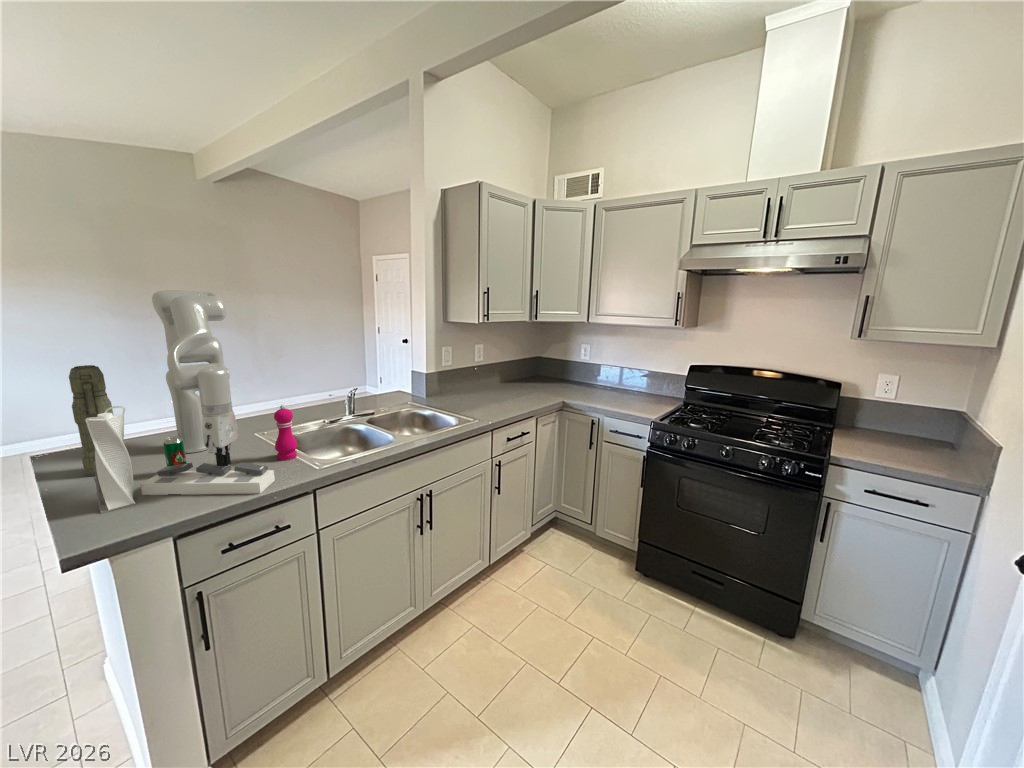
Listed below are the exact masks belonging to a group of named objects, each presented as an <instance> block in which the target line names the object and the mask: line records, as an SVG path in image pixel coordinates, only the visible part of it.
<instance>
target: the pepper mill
mask: <svg viewBox="0 0 1024 768" xmlns="http://www.w3.org/2000/svg"><path fill="white" fill-rule="evenodd" d="M273 415H274V416H273V418H274V420H275V422H276V424H275V425H276V428H277V429H278V434H277V438H276V439H275V440H276V441H275V443H274V449H275V450H276V452H277V454H276V455H277V459H278V460H279V461H290V460H293V459H295V458H297V457H298V456H297V455H298V454H297V453H298V452H297V450H296V449H297V448H298V441H297V439H296V438H295V437H294V435H293V431H292V426H293V421H292V420H293V419H294V413H293V412H292V410H291V409H289V408H287V407H286V405H285V404H280V406H279V409H277V410H276V411H274V414H273Z"/></svg>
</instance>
